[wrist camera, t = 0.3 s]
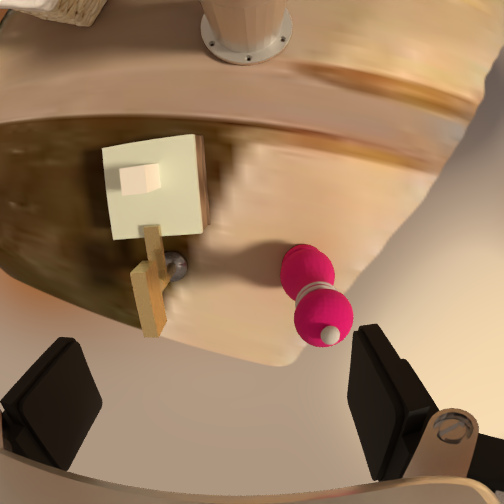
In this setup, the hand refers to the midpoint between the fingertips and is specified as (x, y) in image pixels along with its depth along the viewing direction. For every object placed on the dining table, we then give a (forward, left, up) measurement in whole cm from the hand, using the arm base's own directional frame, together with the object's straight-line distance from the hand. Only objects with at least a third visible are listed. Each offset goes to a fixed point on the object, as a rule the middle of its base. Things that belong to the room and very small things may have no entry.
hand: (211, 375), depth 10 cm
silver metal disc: (+8, -11, -35) cm, 38 cm away
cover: (-4, -11, -30) cm, 33 cm away
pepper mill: (+9, +8, -36) cm, 38 cm away
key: (+7, -11, -34) cm, 37 cm away
